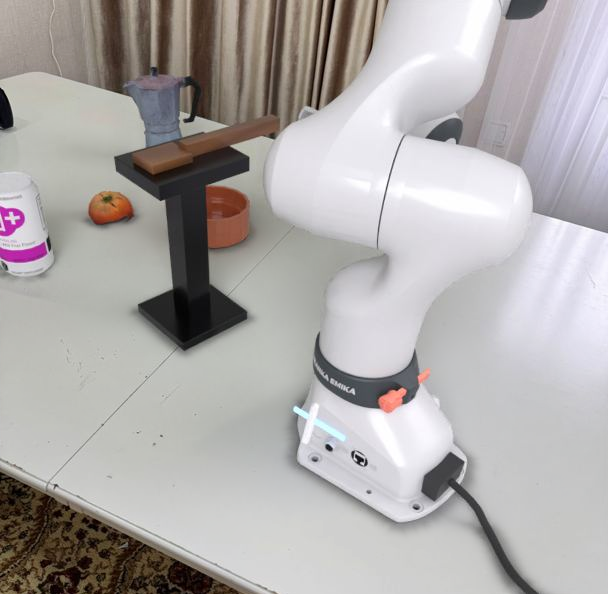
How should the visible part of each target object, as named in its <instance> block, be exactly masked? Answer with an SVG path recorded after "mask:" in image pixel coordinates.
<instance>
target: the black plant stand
mask: <svg viewBox="0 0 608 594" xmlns="http://www.w3.org/2000/svg"><path fill="white" fill-rule="evenodd" d="M204 133H206V132H205V131H200V132H197V133H193V134H189V135H186V136H182V138H179V139H175V140H171V141H168V142H164V143H161V144H157V145H154V146H150V147H146V146H145V147H144V148H140V149H136V150H132V151H129V152H126V153H121V154H119V155H114V156H113V160H114V161H113V162H114V167H115V168H114V169H115V172H116V173H118V174H120V175H121V176H122V177H124V178H125V179H127V180H128V181H130V182H131V183H132V184H134V185H135V186H137V187H138V188H140V189H141V190H142V191H145V192H146V193H147V194H149V195H151V196H152V197H153V198H155V199H156V200H158V201H159V202H163V201H164V205H165V206H164V207H165V215H166V217H165V218H166V227H167V238H168V240H167V241H168V249H169V260H170V272H171V284H172V289H169V290H167V291H165V292H163V293H161V294H158V295H156V296H154V297H151V298H149V299H146V300H145V301H142V302H140V303H138V304H137V310H138V313H139V314H140V315H141V316H143V317H144V318H145V319H146V320H147V321H148V322H150V323H151V324H152V325H153V326H154V327H156V328H157V329H158V330H159V331H160V332H161V333H162V334H164V335H165V336H166V337H167V338H168V339H170V341H172V342H173V343H174V344H175V345H176V346H178V347H179V348H180V349H181V350H182V351H183V352H185V351H188V350H190V349H192V348H194V347H195V346H197V345H199V344H202V343H203V342H205V341H207V340H209V339H211V338H213V337H215V336H217V335H219V334H221V333H223V332H225V331H227V330H229V329H231V328H232V327H235V326H236V325H238V324H240V323H242V322H244V321H247V320H248V311H247V310H246V309H245V308H243V307H242V306H241V305H239V304H238V303H236V302H235V301H234V300H233V299H231V298H230V297H228V296H227V295H226V294H224V293H223V292H222V291H220V290H219V289H218V288H216V287H215V286H214V285H212V283H210V282H211V281H210V279H211V278H210V255H209V254H210V253H209V247H208V227H207V203H206V186H207V185H214V184H216V183H219V182H221V181H224V180H227V179H231V178H233V177H236V176H239V175H242V174H245V173H248V172H250V165H251V163H250V156H249V155H247V154H245V153H243V152H242V151H240V150H238V149H237V148H235V147H233V146H232V145H231V146H228V147H224V148H221V149H218V150H215V151H211V152H208V153H205V154H201V155H198V156H195V157H193V163H190V164H186V165H183V166H180V167H177V168H173V169H170V170H167V171H164V172H161V173H157V174H154V175H152V174H151V173H149V172H147V171H146V170H144V169H143V168H141V167H140V166H138V165H137V164H135V163H134V162H133V158H132V153H135V152H139V151H142V150H146V149H149V148H153V147H156V146H160V145H163V144H167V143H171V142H173V143H175V144H176V145H178V141H179V140H182V139H186V138H189V137H193V136H196V135H200V134H204Z"/></svg>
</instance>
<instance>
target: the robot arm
mask: <svg viewBox="0 0 608 594" xmlns="http://www.w3.org/2000/svg"><path fill="white" fill-rule="evenodd" d="M387 1H388V2H387V5H386V7H385V11H384V14H383V18H382V21H381V24H380V27H379V29H378V33H377V34H376V37H375V40H374V43H373V46H372V48H371V51H370V53H369V55H368V58H367V60H366V62H365V64H364V65H363V66H362V68H361V70H360V72H359V73H357V76H356V77H355V78H354V79H353V80H352V82H351V83H350V84H349V85H348V86H347V87H346V89H344V90H343V91H342V92H341V93H340V94H339V95H338V96H337V97H335V98H334V99H333V100H332V101H330V102H329V103H328V104H327V105H325V106H324V107H322V108H321V109H319V110H318V109H316V108H314V107H311V106H308V105H305V106H303V108H302V109H301V110H300V112H299V115H298V118H297V120H296V121H293V122H291V123H290V124H288V125H287V126H286V127H285V128H284V129H282V130H281V132H280V133H278V135H277V136H276V137H275V139H273V142H272V143H271V145H270V147H269V149H268V151H267V153H266V156H265V159H264V163H263V169H262V186H263V191H264V196H265V199H266V201H267V204H268V206H269V208H270V210H271V212H272V213H273V215H274V216H275V217H276V218H278V219H280V220H281V221H284V222H285V223H288V224H290V225H292V226H294V227H296V228H298V229H301V230H302V231H305V232H308V233H310V234H313V235H315V236H318V237H321V238H322V237H323V238H326V239H331V240H335V241H339V242H344V243H347V244H348V243H349V244H353V245H356V246H360V247H366V248H370V249H374V250H377V251H379V252H382V254H380V255H376V256H372V257H367V258H364V259H360V260H356V261H354V262H352V263H350V264H348V265H346V266H345V267H342V268H341V269H340V270H339V271H337V272H336V273H335V274H334V275H333V276H332V277H331V279H330V280H329V281H328V283H327V285H326V287H325V289H324V293H323V301H322V311H321V319H320V328H319V329H320V330H319V331H318V333H317V335H316V337H315V343H314V347H313V353H312V369H313V375H312V380H311V384H310V387H309V390H308V394H307V397H306V398H305V401H304V403H303V405H302V406H301V408H299V407H298V406H296V405H295V406H294V407H293V412H294V413H296V414H298V416H297V420H296V421H297V424H296V425H297V431H298V432H297V433H298V436H299V445H298V448H297V452H296V461H297V463H298V464H300V465H301V466H302V467H304V468H306V469H307V470H309V471H310V472H312V473H313V474H316V475H317V476H319V477H320V478H322V479H324V480H326V481H327V482H329V483H330V484H332V485H334V486H336V487H338V488H339V489H340V490H342V491H344V492H345V493H347V494H348V495H350V496H352V497H354V498H355V499H356V500H359V501H361V502H362V503H364V504H365V505H367V506H369V507H370V508H372V509H374V510H375V511H377V512H378V513H380V514H381V515H383V516H385V517H387V518H388V519H390V520H391V521H393V522H396V523H407V522H412V521H416V520H419V519H421V518H423V517H426V516H428V515H429V514H431V513H433V512H434V511H435V510H437V509H438V508H440V506H442V505H443V504H445V502H447V500H449V498H451V497H452V495H454V493H457V494H458V495H459V496H460V497H461V498H462V499H463V500H464V501H465V502H466V503H467V504H468V505H469V506H470V508H471V510H473V512H474V514H475V515H476V517H477V519H478V522H479V524H480V526H481V527H482V529H483V531H484V532H485V533H484V534H485V535H486V536H487V539H488V540H489V543H490V544H491V546H492V549H493V550H494V553H495V555H496V557H497V558H498V561H499V562H500V564H501V565H502V567H503V569H504V571H505V572H506V573H507V575H508V577H510V578H511V580H512V581H513V582H514V583H515V584H516V585H517V586H518V588H520V589H521V590H522V592H524V593H525V594H540V593H539V592H538V591H537V590H535V589H534V588H533V587H532V586H531V585H530V584H528V583H527V581H525V579H523V577H522V576H521V575H520V573H518V571H517V570H516V569H515V567H514V566H513V565H512V563H511V561H510V559H509V558H508V556H507V555H506V553H505V551H504V548H503V546H502V544H501V542H500V541H499V538H498V537H497V535H496V533H495V531H494V530H493V527H492V526H491V524H490V522H489V520H488V518H487V516H486V514H485V512H484V510H483V508H482V507H481V505H480V504H479V503H478V502H477V500H476V498H474V497H473V496H472V495H471V494H470V493H469V492H468V491H467V490H466V489H465V487H463V486H462V485H461V483H462V482H463V480H464V477H465V474H466V471H467V465H468V457H467V456H466V454H465V453H464V452H463V451H462V450H461V449H460V448H459V447H458V446H457V445H456V444H455V443H454V439H455V437H454V436H455V435H454V430H453V426H452V424H451V422H450V421H449V419H448V418H447V416H446V415H445V414H444V413H443V411H442V410H441V401H440V399H439V397H438V396H437V395H436V394H434V393H430V392H429V391H428V389H427V388H426V386H425V385H424V383H423V382H425V381H426V380H427V379H428V377H429V376H430V372H431V370H432V369H431V368H430V367H429V368H427V369H426V370H424V371H423V372H421V373H420V367H419V360H418V355H417V350H416V346H417V345H416V344H417V341H418V337H419V334H420V331H421V328H422V327H423V326H422V325H423V322H424V320H425V317H426V315H427V313H428V310H429V309H430V307H431V305H432V304H433V303H434V301H435V300H436V299H437V298H438V296H440V295H441V294H442V293H443V292H444V291H445V290H446V289H448V288H449V287H450V286H452V285H453V284H455V283H457V282H458V281H460V280H461V279H464V278H466V277H467V276H470V275H472V274H474V273H477V272H480V271H483V270H487V269H491V268H493V267H495V266H497V265H499V264H501V263H502V262H503V261H505V260H506V259H507V258H509V257H510V256H511V255H512V254H513V253H514V252H515V251H516V250H517V249H518V247H519V246H520V245H521V243H522V242H523V240H524V239H525V237H526V235H527V233H528V231H529V228H530V225H531V222H532V217H533V212H534V211H533V208H534V199H533V192H532V186H531V185H530V181H529V180H528V177H527V175H526V173H525V171H524V170H523V168H522V167H521V166H519V165H518V164H515V163H513V162H510V161H508V160H506V159H504V158H502V157H499V156H497V155H494V154H492V153H490V152H488V151H487V152H486V151H484V150H481V149H479V148H477V147H472V146H467V145H461V144H459V143H460V141H461V138H462V135H463V131H464V122H463V121H462V119H461V118H460V117H459V115H458V113H457V112H458V111H460V110H461V109H462V108H464V107H465V106H467V104H469V103H470V102H471V101H472V100H473V99H474V98H475V97H476V95H477V94H478V92H479V91H480V89H481V88H482V86H483V85H484V81H485V77H486V74H487V69H488V67H489V66H488V65H489V63H490V62H489V61H490V59H491V55H492V52H493V48H494V45H495V40H496V37H497V33H498V30H499V26H500V21H501V18H502V17H505V20H507V21H508V20H509V21H515V20H516V21H519V20H529V19H532V18H534V17H535V16H537V15H538V14H539V13H541V12H543V10H544V9H545V8H546V6H547V4H548V2H549V1H550V0H387ZM415 508H416V509H415Z"/></svg>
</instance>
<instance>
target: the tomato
mask: <svg viewBox="0 0 608 594" xmlns="http://www.w3.org/2000/svg"><path fill="white" fill-rule="evenodd" d="M87 212H88V216H89V217H90V219H91V221H92V222H93V223H94V224H95V225H97V226H98V225H103V224H106V223H109V222H115V223H116V222H118V221H119V220H120V219H123V218H124V217H128V219H127V221H129V220H131V219H132V217H134V216H135V215H134V209H133V205H132V203H131V201H130V199H129V198H128V197H127V196H125V194H122V193H121V192H119V191H114V190H108V191H107V190H103V191H100V192H98V193H97V194H95V195H94V196H93V197H92V198H91V199H90V202H89V204H88V211H87Z"/></svg>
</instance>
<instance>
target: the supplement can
mask: <svg viewBox="0 0 608 594" xmlns="http://www.w3.org/2000/svg"><path fill="white" fill-rule="evenodd" d="M54 262H55V255H54V251H53V246H52V242H51V238H50V233H49V229H48V224H47V220H46V217H45V211H44V207H43V202H42V198H41V194H40V191H39V186H38V185H37V184H36V183H35V182H34V181H33V180H32V177H31V176H30V175H29V174H26V173H24V172H20V171H19V172H18V171H3V172H0V266H1V268H2V269H3V270H4V272H6V273H8V274H9V275H12V276H14V277H19V278H30V277H34V276H35V277H36V276H38V275H41V274H43V273H45V272H46V271H47V270H49V269H50V268H51V266H52V265H53V264H54Z"/></svg>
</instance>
